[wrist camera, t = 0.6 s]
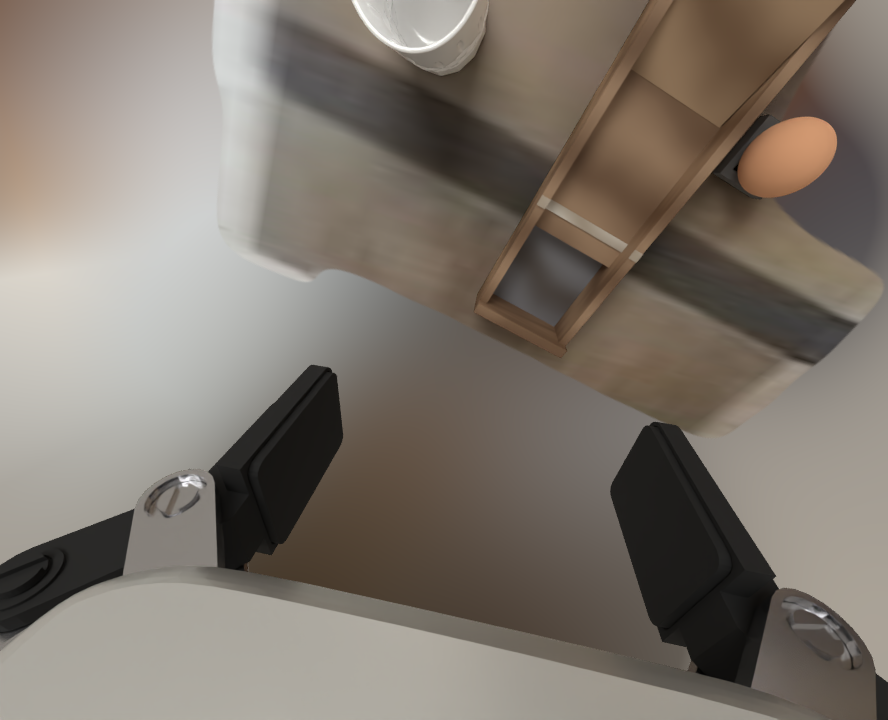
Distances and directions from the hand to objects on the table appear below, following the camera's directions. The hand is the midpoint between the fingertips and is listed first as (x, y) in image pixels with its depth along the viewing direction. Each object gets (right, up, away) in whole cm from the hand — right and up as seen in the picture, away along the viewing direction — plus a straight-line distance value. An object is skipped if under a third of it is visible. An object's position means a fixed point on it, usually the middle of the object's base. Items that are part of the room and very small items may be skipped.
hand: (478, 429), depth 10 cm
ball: (+24, +17, +14) cm, 32 cm away
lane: (+14, +18, +19) cm, 29 cm away
